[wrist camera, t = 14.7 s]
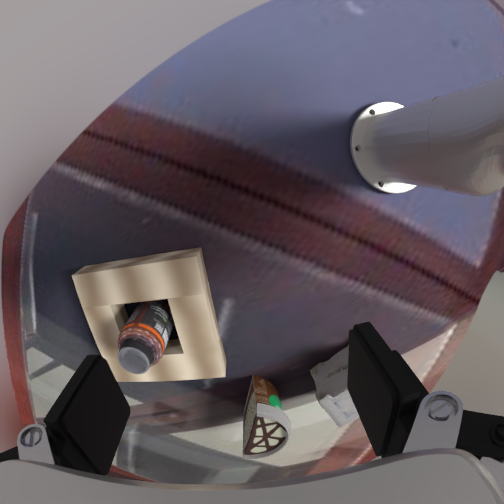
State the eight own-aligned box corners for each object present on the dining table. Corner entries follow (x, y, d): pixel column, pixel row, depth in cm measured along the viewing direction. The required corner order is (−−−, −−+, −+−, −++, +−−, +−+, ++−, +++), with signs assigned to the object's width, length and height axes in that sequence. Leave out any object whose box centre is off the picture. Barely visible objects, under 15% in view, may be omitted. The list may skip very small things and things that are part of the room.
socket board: (201, 247, 38) (196, 256, 34) (226, 360, 43) (225, 376, 39) (84, 266, 38) (71, 275, 34) (121, 366, 43) (113, 381, 39)
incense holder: (356, 327, 42) (383, 367, 32) (375, 359, 44) (400, 398, 34) (303, 361, 43) (317, 407, 33) (326, 389, 45) (342, 433, 35)
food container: (275, 420, 47) (281, 462, 38) (242, 417, 47) (242, 460, 37) (292, 371, 44) (303, 415, 34) (254, 367, 43) (257, 413, 34)
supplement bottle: (133, 323, 41) (105, 368, 30) (142, 290, 39) (112, 331, 28) (169, 338, 41) (151, 387, 31) (180, 306, 40) (162, 352, 29)
